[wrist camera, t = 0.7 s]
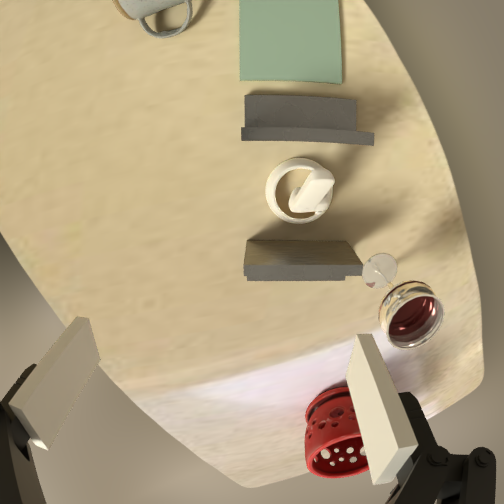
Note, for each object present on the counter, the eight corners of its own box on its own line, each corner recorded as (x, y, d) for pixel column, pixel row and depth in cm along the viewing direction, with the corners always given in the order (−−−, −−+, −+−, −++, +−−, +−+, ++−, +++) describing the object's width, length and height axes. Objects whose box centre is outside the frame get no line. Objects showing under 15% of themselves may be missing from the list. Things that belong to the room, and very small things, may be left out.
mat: (239, -5, 27) (239, -7, 26) (336, 0, 26) (337, -2, 26) (240, 80, 31) (240, 80, 30) (340, 84, 30) (342, 83, 30)
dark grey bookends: (245, 96, 31) (240, 88, 25) (353, 100, 31) (374, 95, 24) (247, 277, 39) (244, 306, 33) (343, 276, 39) (357, 305, 32)
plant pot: (380, 410, 49) (397, 461, 38) (313, 433, 51) (319, 485, 40) (367, 366, 45) (388, 424, 34) (289, 393, 47) (293, 454, 36)
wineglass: (351, 294, 40) (378, 352, 29) (359, 246, 37) (394, 294, 26) (397, 293, 40) (434, 347, 29) (407, 247, 37) (452, 292, 26)
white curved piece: (348, 115, 27) (374, 179, 25) (316, 172, 39) (332, 224, 37) (272, 119, 26) (293, 189, 25) (259, 180, 38) (272, 234, 36)
